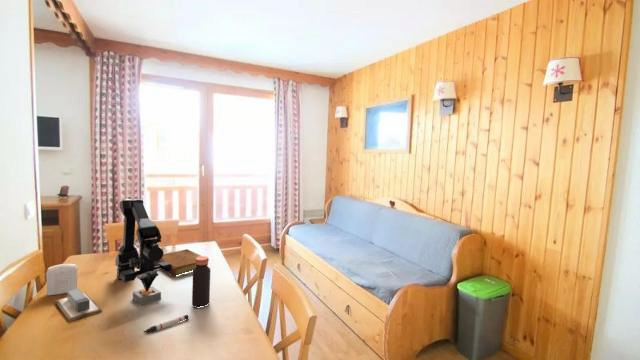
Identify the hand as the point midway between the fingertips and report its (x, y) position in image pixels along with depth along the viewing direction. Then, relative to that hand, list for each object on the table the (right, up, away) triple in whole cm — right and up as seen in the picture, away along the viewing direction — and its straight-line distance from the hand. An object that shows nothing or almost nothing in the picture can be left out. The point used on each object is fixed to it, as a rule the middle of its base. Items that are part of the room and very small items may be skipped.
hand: (146, 290), depth 131 cm
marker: (+18, -7, -19) cm, 27 cm away
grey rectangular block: (-22, -2, -10) cm, 24 cm away
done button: (0, -2, 0) cm, 2 cm away
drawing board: (-22, -3, -9) cm, 24 cm away
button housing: (0, -4, 0) cm, 4 cm away
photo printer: (-37, -2, +2) cm, 37 cm away
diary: (-2, -1, +38) cm, 38 cm away
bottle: (+24, -5, -2) cm, 24 cm away
